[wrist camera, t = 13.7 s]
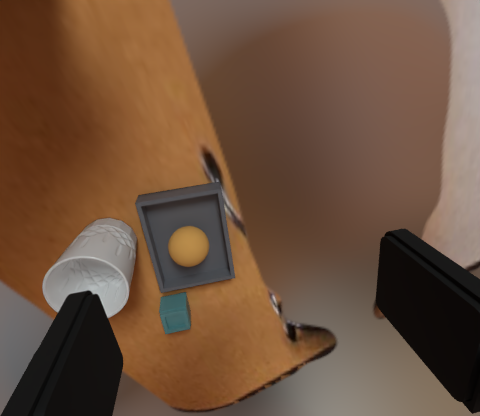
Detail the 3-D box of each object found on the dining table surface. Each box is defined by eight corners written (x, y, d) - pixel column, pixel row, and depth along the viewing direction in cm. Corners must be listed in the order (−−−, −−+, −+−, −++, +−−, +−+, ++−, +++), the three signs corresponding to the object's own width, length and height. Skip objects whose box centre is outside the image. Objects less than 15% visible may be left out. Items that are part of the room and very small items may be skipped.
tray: (138, 195, 37) (135, 203, 35) (219, 181, 38) (221, 188, 36) (162, 280, 42) (160, 292, 40) (232, 267, 43) (235, 277, 41)
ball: (165, 222, 38) (162, 243, 34) (204, 216, 39) (206, 235, 34) (174, 255, 40) (171, 278, 36) (211, 248, 41) (213, 271, 36)
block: (161, 297, 43) (159, 315, 40) (186, 292, 44) (186, 309, 40) (166, 316, 45) (164, 334, 41) (190, 311, 45) (191, 329, 42)
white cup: (141, 268, 41) (128, 321, 32) (78, 266, 39) (46, 322, 30) (142, 215, 38) (129, 258, 29) (74, 210, 36) (38, 255, 27)
